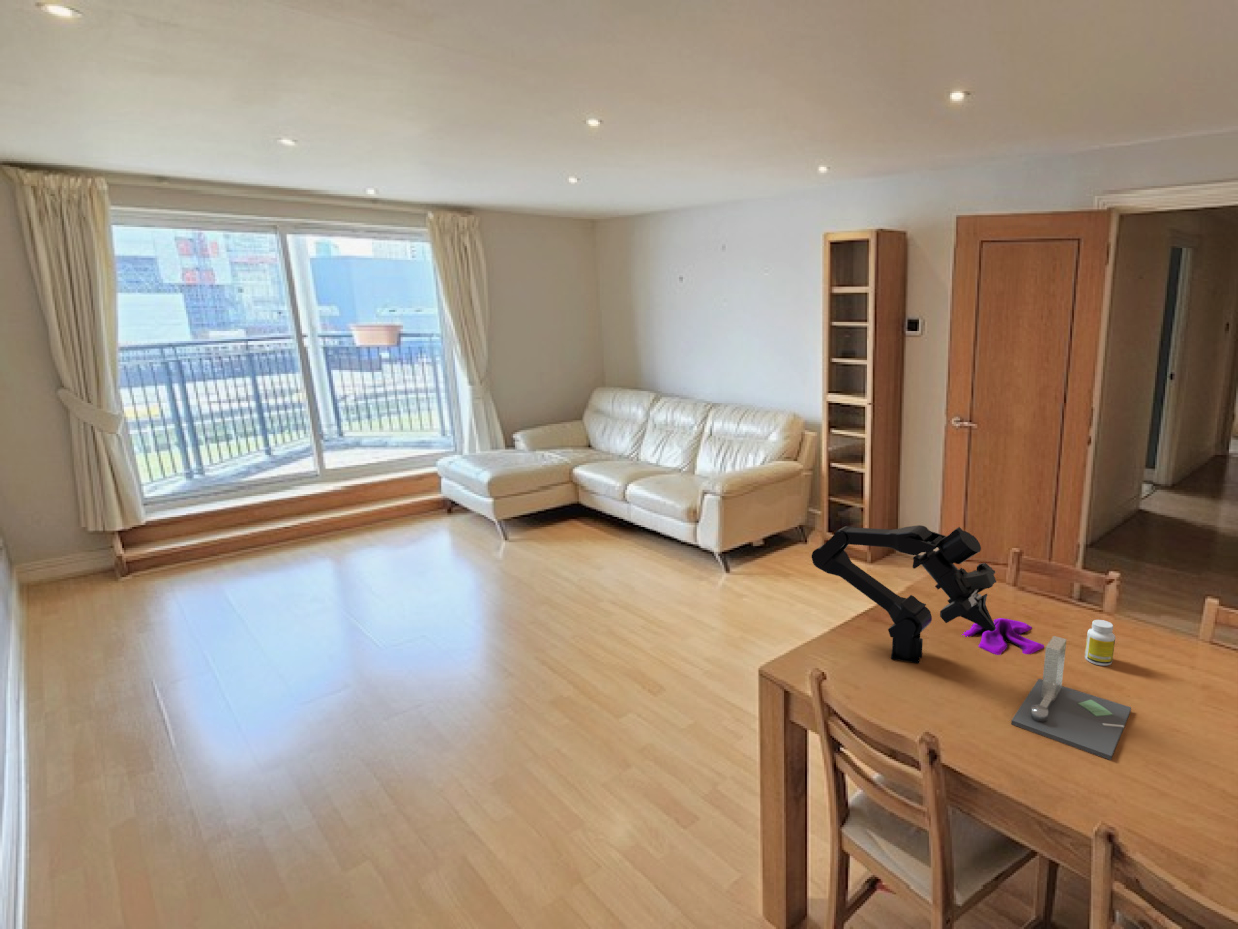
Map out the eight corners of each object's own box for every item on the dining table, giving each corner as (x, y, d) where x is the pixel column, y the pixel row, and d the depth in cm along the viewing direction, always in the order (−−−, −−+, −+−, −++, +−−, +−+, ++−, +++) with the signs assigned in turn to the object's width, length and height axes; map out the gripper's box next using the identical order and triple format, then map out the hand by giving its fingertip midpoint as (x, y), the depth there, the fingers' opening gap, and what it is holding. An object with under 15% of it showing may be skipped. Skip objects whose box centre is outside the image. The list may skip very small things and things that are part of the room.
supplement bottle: (1116, 667, 154) (1121, 629, 151) (1090, 666, 155) (1095, 628, 152) (1105, 655, 159) (1109, 618, 156) (1080, 654, 160) (1084, 617, 157)
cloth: (1021, 620, 179) (1022, 599, 177) (1061, 655, 161) (1064, 633, 159) (937, 623, 180) (938, 603, 179) (968, 659, 162) (970, 637, 161)
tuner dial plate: (1112, 761, 124) (1112, 755, 124) (1011, 724, 137) (1011, 719, 136) (1131, 711, 138) (1132, 706, 137) (1038, 682, 150) (1038, 677, 150)
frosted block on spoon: (1045, 723, 134) (1051, 666, 131) (1028, 718, 136) (1033, 661, 133) (1065, 688, 145) (1071, 634, 142) (1050, 683, 147) (1055, 630, 144)
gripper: (957, 569, 141) (1010, 631, 136) (986, 543, 154) (1036, 599, 148) (919, 593, 149) (968, 652, 144) (949, 567, 161) (996, 620, 156)
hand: (993, 630), depth 148 cm, fingers closed
